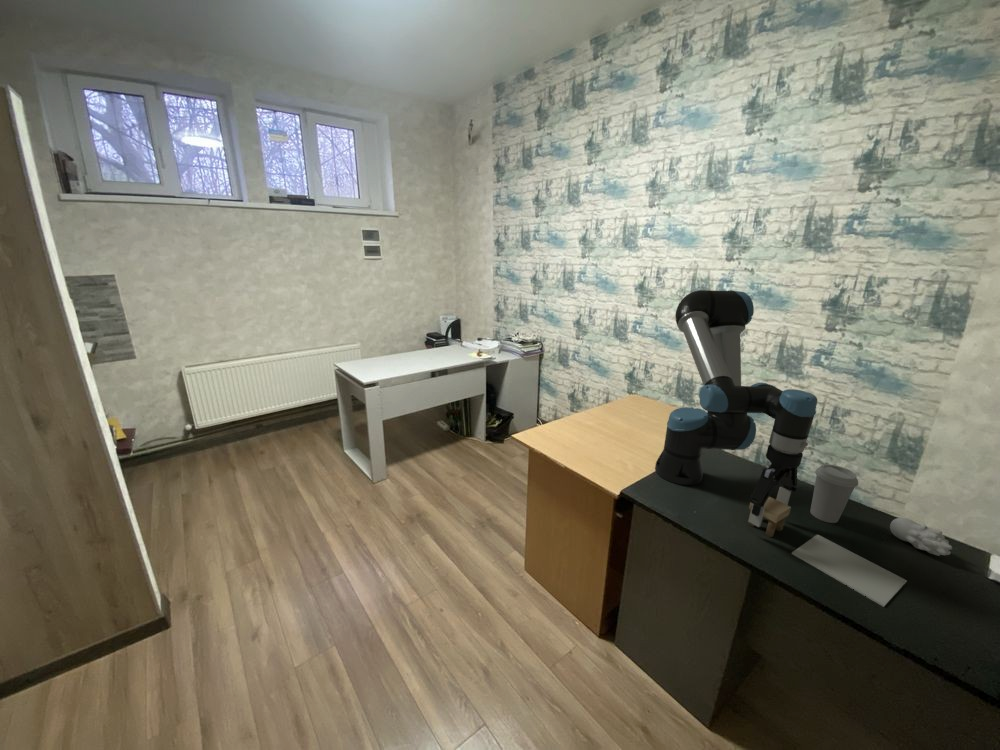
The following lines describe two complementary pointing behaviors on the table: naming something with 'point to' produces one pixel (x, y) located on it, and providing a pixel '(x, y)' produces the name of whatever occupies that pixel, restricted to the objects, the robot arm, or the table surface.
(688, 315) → the robot arm
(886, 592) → the mat
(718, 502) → the table surface
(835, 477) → the coffee cup
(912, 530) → the figurine
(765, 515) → the wooden stool
